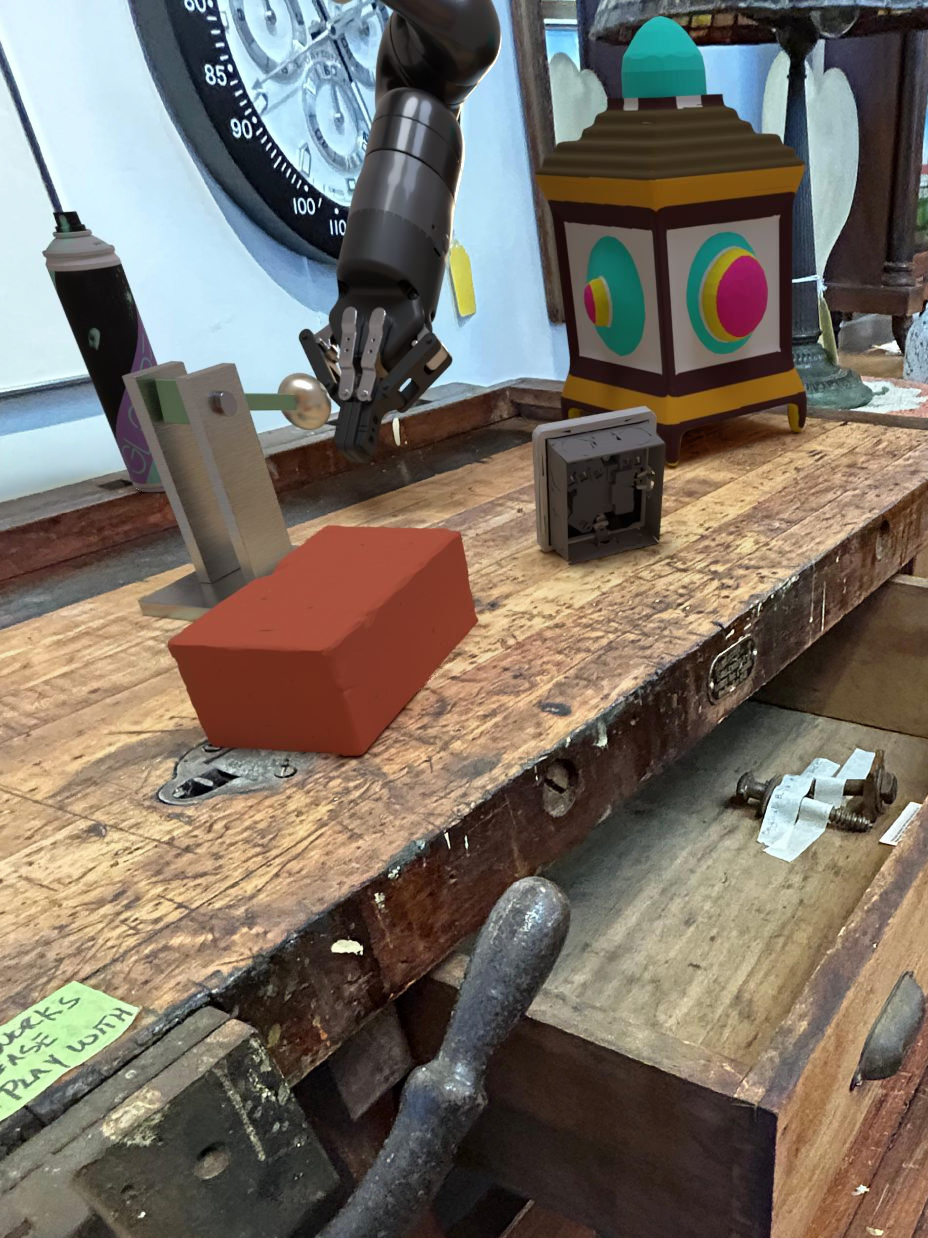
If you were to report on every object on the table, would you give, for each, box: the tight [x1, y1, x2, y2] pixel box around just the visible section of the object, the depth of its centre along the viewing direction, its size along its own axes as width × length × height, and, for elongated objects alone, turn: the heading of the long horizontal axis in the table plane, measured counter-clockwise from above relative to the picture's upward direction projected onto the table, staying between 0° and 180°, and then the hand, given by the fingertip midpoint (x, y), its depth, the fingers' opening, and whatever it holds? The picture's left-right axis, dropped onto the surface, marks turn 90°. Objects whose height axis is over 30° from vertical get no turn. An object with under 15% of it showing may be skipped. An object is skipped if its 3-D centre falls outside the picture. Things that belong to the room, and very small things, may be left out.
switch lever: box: [155, 372, 332, 431], centre depth 69 cm, size 14×4×4 cm, turn 162°
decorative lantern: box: [534, 15, 808, 467], centre depth 91 cm, size 20×20×30 cm
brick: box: [167, 524, 479, 757], centre depth 59 cm, size 18×9×6 cm, turn 170°
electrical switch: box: [531, 406, 666, 565], centre depth 74 cm, size 9×5×9 cm, turn 122°
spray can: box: [41, 210, 166, 493], centre depth 87 cm, size 6×6×20 cm
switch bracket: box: [122, 360, 300, 622], centre depth 68 cm, size 12×9×14 cm
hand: (352, 456), depth 80 cm, fingers closed
